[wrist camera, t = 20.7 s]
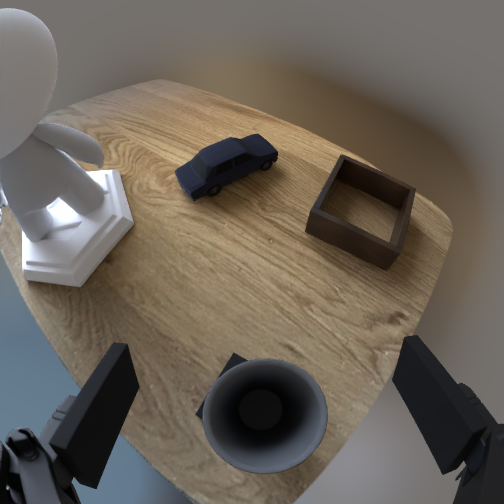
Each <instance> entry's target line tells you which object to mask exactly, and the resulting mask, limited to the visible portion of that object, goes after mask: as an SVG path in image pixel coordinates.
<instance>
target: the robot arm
mask: <svg viewBox="0 0 504 504" xmlns="http://www.w3.org/2000/svg"><path fill="white" fill-rule="evenodd" d="M392 381H393V383H394V384H395V386H396V388H397V390H398V391H399V393H400V395H401V397H402V398H403V400H404V402H405V404H406V406H407V407H408V409H409V411H410V413H411V415H412V417H413V418H414V420H415V422H416V424H417V426H418V428H419V430H420V431H421V433H422V435H423V437H424V439H425V441H426V443H427V445H428V447H429V449H430V451H431V452H432V455H433V456H434V458H435V460H436V462H437V464H438V467H439V469H440V471H441V473H442V475H444V474H446V473H449V472H451V471H453V470H456V469H457V468H458V467H459V466H460V465H461V463H462V462H463V461H465V464H466V466H465V468H464V469H463V470H462V471H461V472H460V473H459V475H458V476H457V477H456V480H458V479H459V478H460V477H461V480H460V483H459V486H458V490H457V493H456V496H455V499H454V502H453V504H504V424H498V423H497V422H496V421H495V419H494V418H493V417H492V415H491V414H490V413H489V411H488V410H487V409H486V407H485V406H484V405H483V403H481V401H480V400H479V399H478V397H476V394H475V393H474V392H473V391H472V390H471V388H469V387H468V386H466V385H465V384H463V383H460V384H457V383H456V382H455V381H454V380H453V378H452V377H451V376H450V375H449V373H448V372H447V371H446V369H445V368H444V367H443V366H442V364H441V363H440V362H439V361H438V360H437V358H436V357H435V356H434V355H433V354H432V352H431V351H430V350H429V349H428V347H427V346H426V345H425V344H424V343H423V342H422V341H421V339H420V338H419V337H418V336H417V335H414V336H407V337H404V340H403V344H402V348H401V351H400V355H399V358H398V362H397V365H396V369H395V372H394V376H393V378H392ZM139 387H140V386H139V383H138V380H137V377H136V373H135V370H134V366H133V363H132V359H131V355H130V352H129V348H128V344H124V343H114V342H113V344H112V345H111V347H110V348H109V350H108V351H107V352H106V354H105V355H104V357H103V358H102V360H101V361H100V363H99V364H98V366H97V367H96V369H95V370H94V371H93V373H92V374H91V376H90V377H89V379H88V380H87V382H86V383H85V385H84V386H83V388H82V390H81V391H80V393H79V394H78V396H77V397H75V396H71V395H70V396H68V397H67V398H66V399H64V400H63V401H62V402H61V403H60V405H59V406H58V407H57V409H56V412H54V413H53V415H52V418H50V420H49V421H48V423H47V424H46V426H45V427H44V429H43V430H42V432H41V433H40V435H39V437H38V438H36V436H35V435H34V434H33V432H32V431H31V430H30V429H28V428H25V427H18V428H15V429H13V430H12V431H11V432H9V434H8V435H7V437H6V444H7V445H8V447H5V446H4V445H3V444H2V443H1V441H0V504H81V502H80V500H79V497H78V495H77V493H76V490H75V488H74V486H73V484H72V480H73V477H75V479H76V480H77V481H78V482H79V483H80V484H82V485H85V486H88V487H91V488H94V489H97V486H98V484H99V481H100V479H101V476H102V474H103V471H104V469H105V466H106V464H107V461H108V459H109V456H110V454H111V451H112V449H113V447H114V444H115V442H116V440H117V437H118V435H119V433H120V430H121V428H122V426H123V423H124V421H125V419H126V416H127V414H128V412H129V410H130V407H131V405H132V403H133V401H134V398H135V396H136V394H137V392H138V390H139Z"/></svg>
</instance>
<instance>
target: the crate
mask: <svg viewBox="0 0 504 504" xmlns="http://www.w3.org/2000/svg"><path fill="white" fill-rule="evenodd" d="M338 180H339V181H341V182H343V183H346V184H348V185H350V186H352V187H355V188H357V189H359V190H361V191H363V192H365V193H368V194H370V195H372V196H374V197H376V198H378V199H380V200H382V201H384V202H386V203H388V204H390V205H392V206H394V207H396V208H398V209H399V211H398V215H397V219H396V222H395V226H394V229H393V232H392V236H391V239H390V242H387V241H385V240H383V239H381V238H379V237H377V236H375V235H372V234H370V233H368V232H366V231H364V230H362V229H360V228H358V227H356V226H354V225H352V224H350V223H348V222H345V221H343V220H341V219H339V218H337V217H335V216H333V215H330V214H328V213H326V212H324V211H323V209H324V207H325V205H326V203H327V201H328V199H329V197H330V195H331V193H332V191H333V189H334V187H335V185H336V184H337V182H338ZM415 191H416V189H415V188H413V187H411V186H409V185H407V184H405V183H403V182H402V181H399V180H397V179H395V178H393V177H391V176H389V175H387V174H385V173H383V172H381V171H379V170H377V169H375V168H372V167H370V166H368V165H366V164H363V163H361V162H359V161H357V160H354V159H352V158H350V157H347V156H345V155H343V154H341V155H340V157H339V159H338V161H337V162H336V164H335V166H334V168H333V170H332V172H331V174H330V175H329V177H328V179H327V181H326V183H325V185H324V187H323V188H322V190H321V192H320V194H319V196H318V198H317V199H316V201H315V203H314V205H313V207H312V208H311V210H310V213H309V217H308V221H307V225H306V229H305V232H307V233H309V234H311V235H313V236H315V237H317V238H320V239H322V240H324V241H326V242H328V243H330V244H332V245H334V246H336V247H339V248H341V249H343V250H345V251H347V252H349V253H351V254H353V255H355V256H357V257H359V258H361V259H363V260H365V261H367V262H369V263H371V264H373V265H375V266H377V267H379V268H381V269H383V270H385V271H387V269H388V268H389V267H390V266H391V265H392V263H393V262H394V261H395V260H396V259H397V257H398V256H399V255H400V253H401V249H402V246H403V242H404V238H405V234H406V231H407V227H408V222H409V218H410V214H411V210H412V205H413V201H414V196H415Z"/></svg>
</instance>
